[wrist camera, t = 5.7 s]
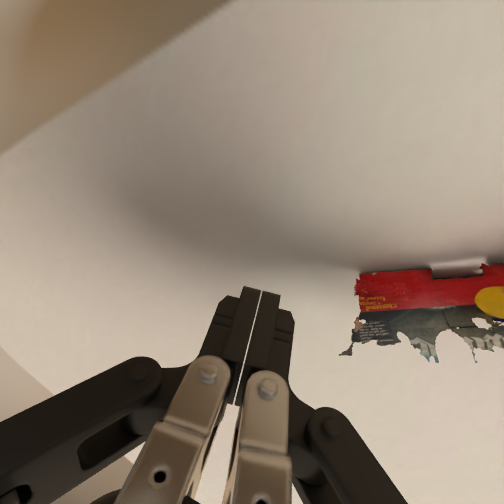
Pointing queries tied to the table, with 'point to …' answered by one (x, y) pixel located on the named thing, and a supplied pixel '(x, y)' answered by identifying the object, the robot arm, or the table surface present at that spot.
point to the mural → (429, 308)
